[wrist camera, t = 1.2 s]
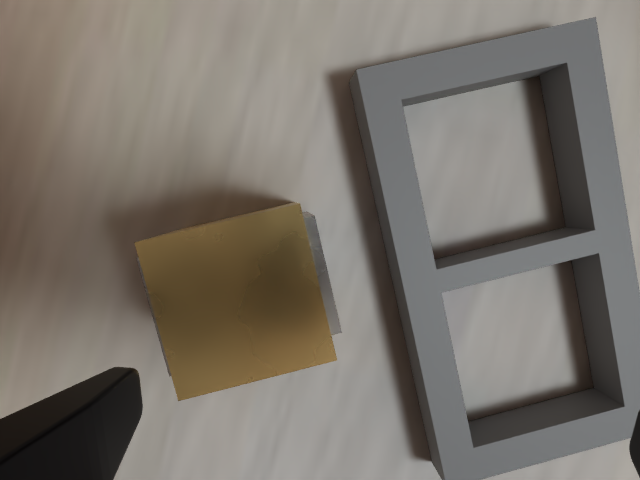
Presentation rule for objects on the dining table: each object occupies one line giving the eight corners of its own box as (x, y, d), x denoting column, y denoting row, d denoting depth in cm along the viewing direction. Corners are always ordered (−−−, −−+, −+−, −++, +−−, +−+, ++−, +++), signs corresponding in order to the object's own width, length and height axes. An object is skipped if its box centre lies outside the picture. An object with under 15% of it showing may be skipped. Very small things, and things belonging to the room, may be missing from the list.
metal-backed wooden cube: (202, 339, 20) (165, 404, 14) (173, 230, 20) (120, 245, 13) (328, 307, 21) (349, 356, 14) (303, 200, 20) (312, 200, 14)
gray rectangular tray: (432, 462, 22) (447, 488, 20) (349, 82, 20) (356, 69, 18) (627, 408, 22) (661, 429, 20) (565, 34, 20) (595, 16, 18)
